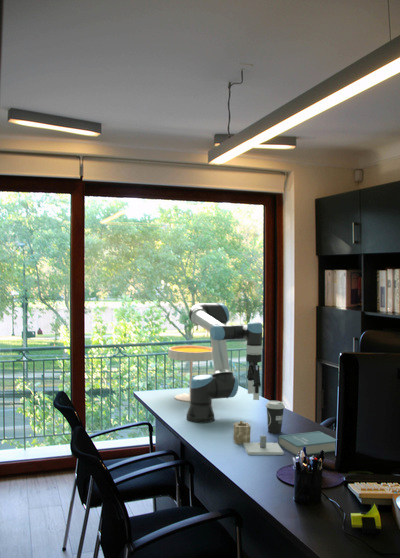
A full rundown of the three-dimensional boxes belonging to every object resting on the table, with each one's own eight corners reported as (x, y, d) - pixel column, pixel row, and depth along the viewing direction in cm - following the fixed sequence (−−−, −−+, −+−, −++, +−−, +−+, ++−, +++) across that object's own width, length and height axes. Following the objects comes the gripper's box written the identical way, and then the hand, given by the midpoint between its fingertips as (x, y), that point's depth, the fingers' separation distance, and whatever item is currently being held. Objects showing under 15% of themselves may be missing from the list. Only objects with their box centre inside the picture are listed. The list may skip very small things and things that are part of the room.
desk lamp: (186, 390, 359) (187, 344, 359) (223, 397, 342) (224, 348, 342) (157, 398, 335) (158, 348, 335) (195, 406, 318) (196, 354, 318)
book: (297, 457, 237) (297, 445, 237) (277, 445, 252) (278, 435, 252) (338, 451, 246) (339, 440, 246) (317, 440, 261) (318, 430, 261)
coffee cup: (272, 435, 265) (273, 405, 265) (261, 430, 274) (262, 401, 273) (287, 433, 270) (288, 403, 269) (276, 428, 278) (277, 399, 278)
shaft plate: (247, 454, 237) (248, 440, 237) (243, 445, 250) (243, 431, 250) (283, 454, 238) (283, 441, 238) (277, 445, 251) (277, 432, 251)
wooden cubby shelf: (235, 443, 252) (235, 425, 251) (233, 439, 259) (233, 420, 258) (250, 443, 252) (250, 425, 252) (247, 439, 259) (248, 421, 259)
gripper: (267, 357, 253) (266, 402, 253) (256, 350, 278) (255, 391, 278) (251, 357, 252) (250, 402, 253) (242, 350, 277) (241, 391, 277)
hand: (253, 396), depth 265 cm, fingers open, 13 cm apart
